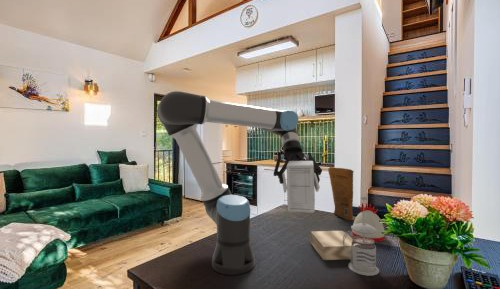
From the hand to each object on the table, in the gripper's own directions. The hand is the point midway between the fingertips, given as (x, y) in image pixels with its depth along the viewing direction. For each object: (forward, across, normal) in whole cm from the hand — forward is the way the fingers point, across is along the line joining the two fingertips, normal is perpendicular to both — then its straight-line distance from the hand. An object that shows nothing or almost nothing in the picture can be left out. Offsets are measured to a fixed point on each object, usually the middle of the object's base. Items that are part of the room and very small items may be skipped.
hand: (301, 190), depth 91 cm
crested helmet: (+4, -37, -34) cm, 51 cm away
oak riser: (+13, -15, -24) cm, 31 cm away
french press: (+23, -19, -15) cm, 33 cm away
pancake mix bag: (-16, -37, -54) cm, 68 cm away
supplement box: (+4, 0, -6) cm, 7 cm away
